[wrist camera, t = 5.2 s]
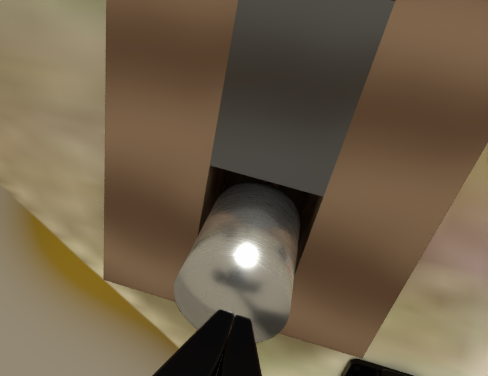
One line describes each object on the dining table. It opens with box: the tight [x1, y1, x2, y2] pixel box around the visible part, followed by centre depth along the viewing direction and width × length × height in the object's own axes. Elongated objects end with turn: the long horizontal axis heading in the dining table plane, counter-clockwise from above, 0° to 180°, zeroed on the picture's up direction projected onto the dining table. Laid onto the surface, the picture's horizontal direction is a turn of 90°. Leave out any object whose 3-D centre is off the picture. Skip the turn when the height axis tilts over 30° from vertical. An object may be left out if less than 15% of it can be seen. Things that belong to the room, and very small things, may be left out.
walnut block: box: [104, 0, 488, 358], centre depth 16 cm, size 24×14×5 cm, turn 169°
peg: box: [174, 182, 300, 343], centre depth 15 cm, size 4×4×5 cm
